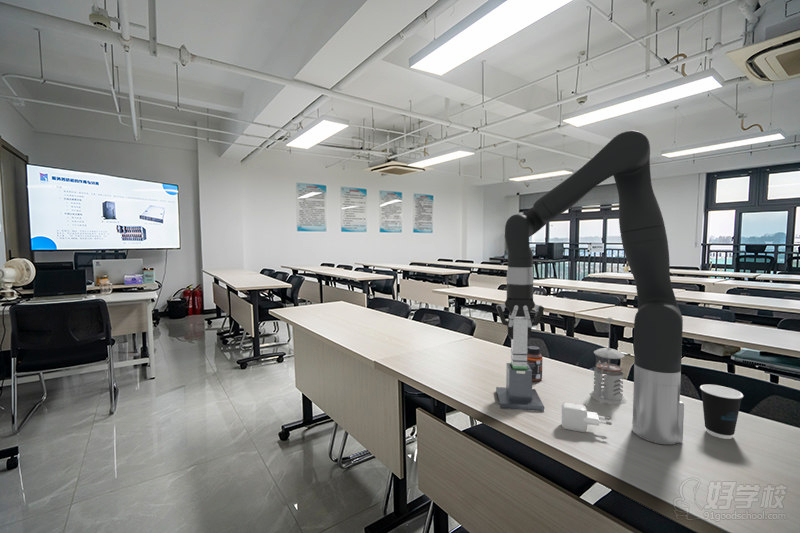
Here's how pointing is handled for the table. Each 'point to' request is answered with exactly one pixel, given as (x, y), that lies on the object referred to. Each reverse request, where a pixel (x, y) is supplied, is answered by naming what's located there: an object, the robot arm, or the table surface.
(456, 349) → the table surface
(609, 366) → the french press
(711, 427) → the dixie cup
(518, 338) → the column
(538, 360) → the supplement bottle
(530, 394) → the stand housing
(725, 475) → the table surface
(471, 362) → the table surface
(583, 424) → the power adapter
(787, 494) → the table surface
